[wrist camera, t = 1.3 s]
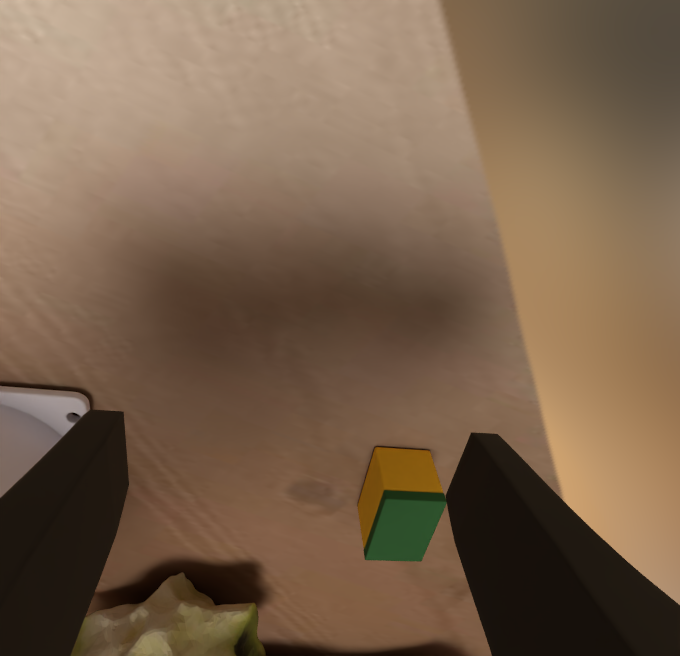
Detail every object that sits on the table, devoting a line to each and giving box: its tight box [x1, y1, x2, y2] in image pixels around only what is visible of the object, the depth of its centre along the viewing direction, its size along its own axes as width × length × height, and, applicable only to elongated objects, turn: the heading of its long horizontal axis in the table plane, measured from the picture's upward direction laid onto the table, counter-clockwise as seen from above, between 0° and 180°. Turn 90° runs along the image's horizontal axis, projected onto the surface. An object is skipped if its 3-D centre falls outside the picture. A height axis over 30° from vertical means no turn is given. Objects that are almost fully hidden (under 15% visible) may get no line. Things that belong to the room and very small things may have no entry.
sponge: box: [358, 447, 447, 561], centre depth 22 cm, size 4×3×3 cm, turn 170°
